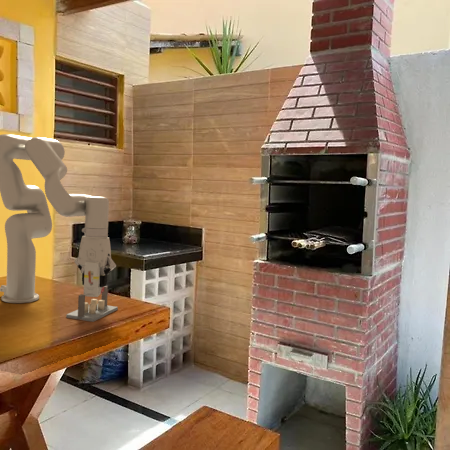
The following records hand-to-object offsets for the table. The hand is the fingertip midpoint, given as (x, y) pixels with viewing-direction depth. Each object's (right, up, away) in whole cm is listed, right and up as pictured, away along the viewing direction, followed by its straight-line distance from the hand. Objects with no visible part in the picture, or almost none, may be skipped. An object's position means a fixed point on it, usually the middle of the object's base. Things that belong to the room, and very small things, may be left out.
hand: (94, 284), depth 157 cm
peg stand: (-1, -10, +1) cm, 10 cm away
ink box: (0, -3, 0) cm, 3 cm away
